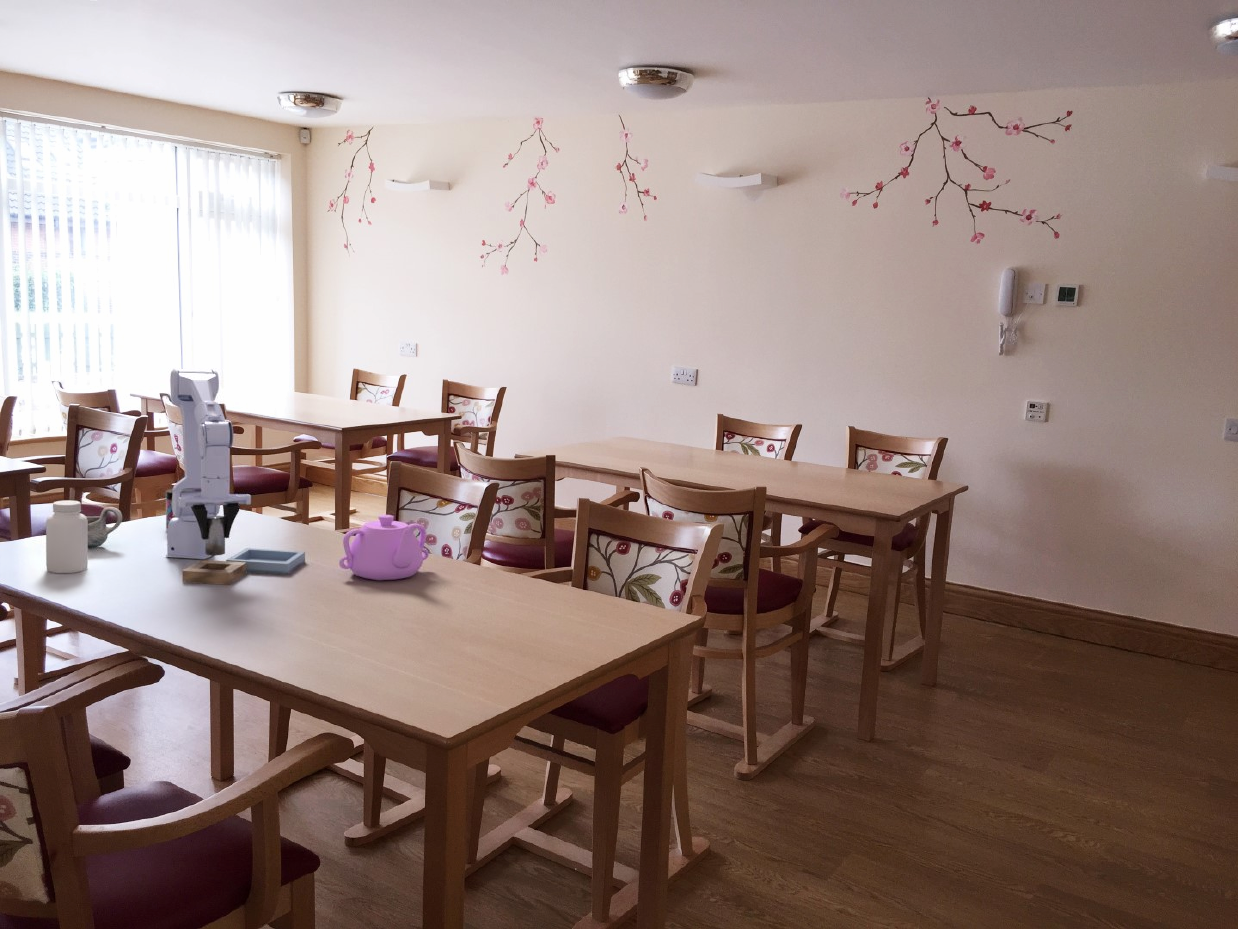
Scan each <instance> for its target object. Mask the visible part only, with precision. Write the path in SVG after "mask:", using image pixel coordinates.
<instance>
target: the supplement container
mask: <svg viewBox="0 0 1238 929" xmlns="http://www.w3.org/2000/svg"><path fill="white" fill-rule="evenodd" d="M182 491H195V489H189V490H182ZM172 495H173V488H171V489H169V488H168V489H166V490H165V529H166V530H167V529H168V524H169V522H170V520H171V519H172V518H175V516H174V515H173V511H172Z"/></svg>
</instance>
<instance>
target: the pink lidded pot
mask: <svg viewBox="0 0 1238 929" xmlns="http://www.w3.org/2000/svg"><path fill="white" fill-rule="evenodd" d="M394 519H395V516H394V515H392V514H381V515H378V520H373V521H368V522H365V523H364V524H363V525H362V526H361V527H360V528H353V529H350V530H349V531H347V532H346V533H345V534H344V536H343V538H342V539H343V540H342V542H343V543H342V544H343V545H342V546H343V548H344V553H345V556H341V557H340V559H339V562H338V564H339V567H340V568H341V569H344V570H349V569H350V571H351V572H353V574H354V575H355V576H358V577H361V578H364V579H369V580H373V581H385V580H389V581H390V580H398V579H399V580H401V579H406V578H409V577H412V576H414V575H415V574H416V573H417V572H419V570H420V569H421V568H422V566H423V564H424V561H425V560H427V559H428V558H429V556H430V555H429V553H430V552H429V551H428V549H427V548H425V547H424V546H425V543H426V538H427V530H426V529H425V527H424V526H423V525H421V524H419V523H409V524H407V523H405V522H403V521H397V520H394ZM415 529H418V530H419V532H420V535H419V540H418V538H417V536H416V535H415V534H416V533H414V530H415ZM353 535H355V536H354V537H353V539H352V541H351V543H350V538H351V537H352V536H353ZM345 561H346V563H345Z"/></svg>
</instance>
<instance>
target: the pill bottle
mask: <svg viewBox="0 0 1238 929" xmlns="http://www.w3.org/2000/svg"><path fill="white" fill-rule="evenodd" d="M52 512H53V513H52V514H50V515H49V516H48V517H47V518H46V521H45V538H46V539H45V541H46V542H45V546H46V547H45V550H46V552H45V566H46V570H47V571H48V572H49V573H53V574H75V573H80V572H83V571H85V570H87V569H88V563H89V561H88V560H89V559H88V558H89V556H88V552H89V551H88V550H89V549H88V520H87V518H86V517H87V516H86V515H85V514H83V513H81V512H82V504H81V502H80V501H78V500H68V499H67V500H57V501H54V502H52Z"/></svg>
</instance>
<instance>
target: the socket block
mask: <svg viewBox="0 0 1238 929" xmlns="http://www.w3.org/2000/svg"><path fill="white" fill-rule="evenodd" d="M246 563H247V562H231V561H226V560H211V559H200V560H199V561H197V562H195V563H194V564H192V565H190V566H188V567H186V568H184V569H182V570H181V571H182V572H181V576H182V580H181V582H182V583H193V584H194V583H195V584H210V585H226V586H229V585H231V584H232V583H234V582H235V581H237V580H238V579H240V578H242V577H243V576H245V575H247V572H246Z"/></svg>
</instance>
